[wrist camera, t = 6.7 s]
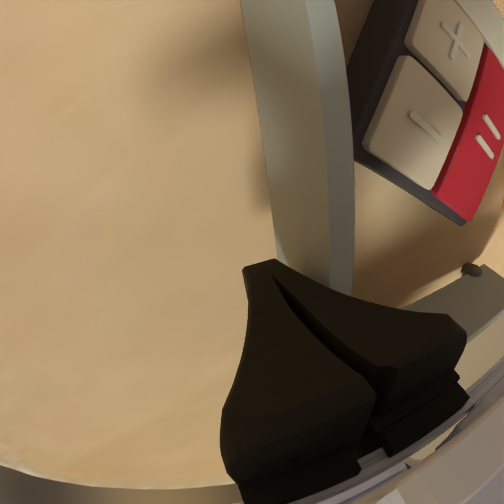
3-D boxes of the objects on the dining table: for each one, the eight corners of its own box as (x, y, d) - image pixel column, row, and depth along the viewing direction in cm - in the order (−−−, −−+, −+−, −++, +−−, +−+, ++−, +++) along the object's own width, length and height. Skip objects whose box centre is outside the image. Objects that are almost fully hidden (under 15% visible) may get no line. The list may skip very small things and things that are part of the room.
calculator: (355, 157, 10) (441, -71, 4) (306, 137, 13) (392, -56, 8) (472, 234, 14) (530, 52, 9) (428, 206, 18) (487, 45, 12)
